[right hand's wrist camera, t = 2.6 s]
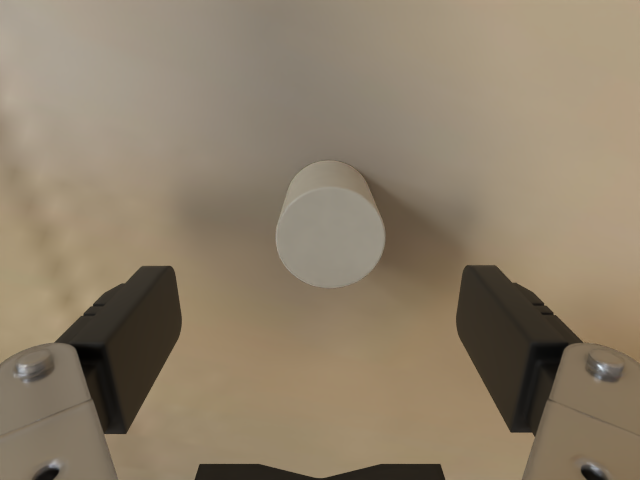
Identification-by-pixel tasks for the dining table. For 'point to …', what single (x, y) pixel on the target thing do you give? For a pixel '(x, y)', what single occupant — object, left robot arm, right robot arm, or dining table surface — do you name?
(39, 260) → the dining table surface
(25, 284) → the dining table surface
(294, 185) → the can
